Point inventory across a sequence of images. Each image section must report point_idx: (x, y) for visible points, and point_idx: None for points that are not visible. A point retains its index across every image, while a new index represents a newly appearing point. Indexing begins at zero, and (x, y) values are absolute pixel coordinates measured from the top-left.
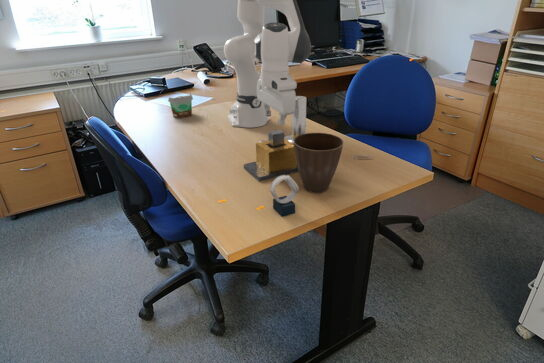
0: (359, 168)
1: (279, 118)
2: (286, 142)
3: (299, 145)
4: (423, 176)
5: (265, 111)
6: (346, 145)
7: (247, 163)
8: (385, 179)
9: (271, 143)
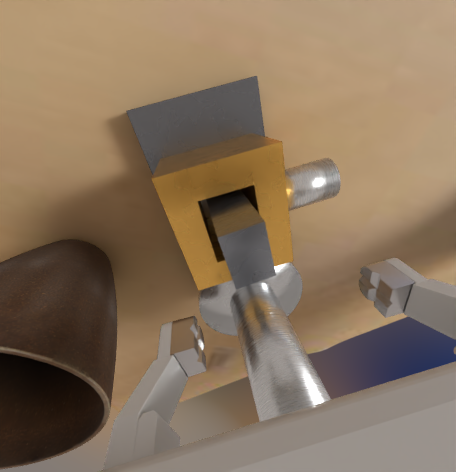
0: None
1: (163, 369)
2: None
3: (70, 322)
4: None
5: (410, 282)
6: None
7: (258, 95)
8: (116, 375)
9: (224, 210)
